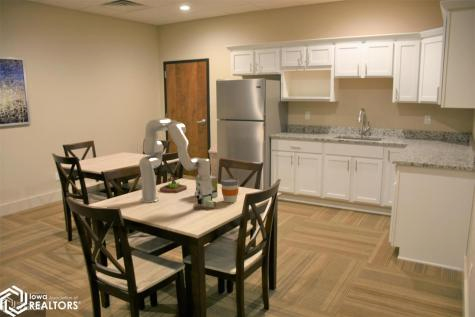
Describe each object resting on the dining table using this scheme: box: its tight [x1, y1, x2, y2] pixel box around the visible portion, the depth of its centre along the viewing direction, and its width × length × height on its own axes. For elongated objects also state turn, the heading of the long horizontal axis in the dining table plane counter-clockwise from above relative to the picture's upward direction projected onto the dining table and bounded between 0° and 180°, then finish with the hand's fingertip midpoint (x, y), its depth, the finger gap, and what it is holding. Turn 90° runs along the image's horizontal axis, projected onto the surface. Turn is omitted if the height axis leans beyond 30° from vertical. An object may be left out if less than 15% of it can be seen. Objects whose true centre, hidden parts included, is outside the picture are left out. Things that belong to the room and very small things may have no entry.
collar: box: [199, 195, 215, 207], centre depth 249 cm, size 10×6×6 cm, turn 46°
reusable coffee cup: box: [220, 177, 240, 203], centre depth 263 cm, size 13×13×15 cm
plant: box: [159, 176, 188, 194], centre depth 296 cm, size 20×20×11 cm
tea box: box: [195, 174, 218, 199], centre depth 277 cm, size 15×10×15 cm, turn 37°
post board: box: [193, 201, 217, 211], centre depth 251 cm, size 14×14×5 cm
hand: (204, 202), depth 251 cm, fingers open, 9 cm apart
